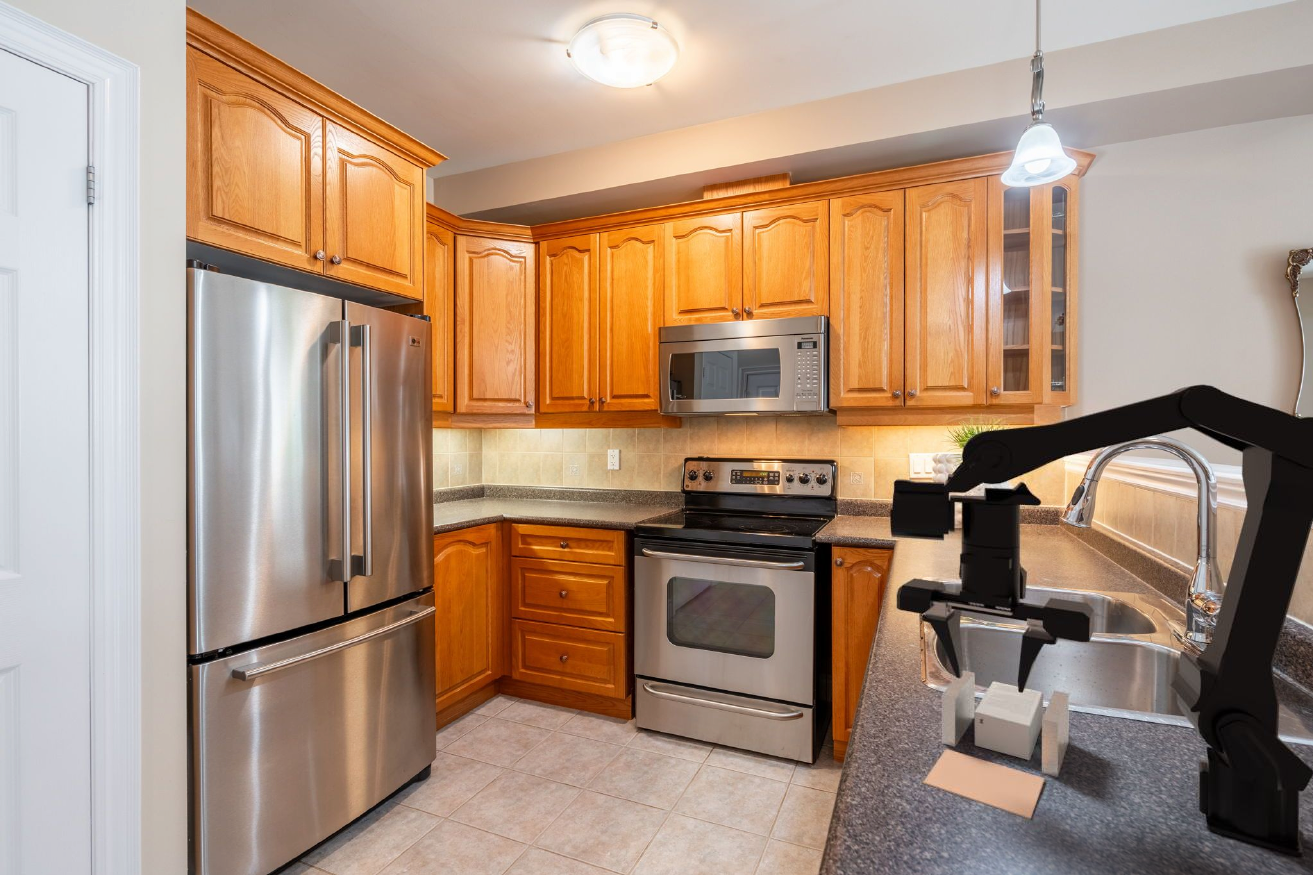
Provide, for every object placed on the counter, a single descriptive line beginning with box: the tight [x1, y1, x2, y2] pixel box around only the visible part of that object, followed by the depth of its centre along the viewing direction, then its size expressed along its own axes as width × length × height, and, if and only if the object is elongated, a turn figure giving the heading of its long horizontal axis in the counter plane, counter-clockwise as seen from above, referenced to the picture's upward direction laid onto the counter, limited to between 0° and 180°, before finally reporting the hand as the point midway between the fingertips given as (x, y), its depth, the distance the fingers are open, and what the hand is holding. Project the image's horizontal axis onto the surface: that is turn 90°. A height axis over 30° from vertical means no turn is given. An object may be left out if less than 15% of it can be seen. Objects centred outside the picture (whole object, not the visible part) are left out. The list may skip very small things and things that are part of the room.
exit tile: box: [922, 748, 1045, 820], centre depth 68 cm, size 10×9×1 cm
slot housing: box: [941, 670, 1070, 778], centre depth 77 cm, size 12×10×6 cm
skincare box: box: [973, 681, 1044, 761], centre depth 79 cm, size 6×4×12 cm
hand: (989, 684), depth 70 cm, fingers open, 6 cm apart
